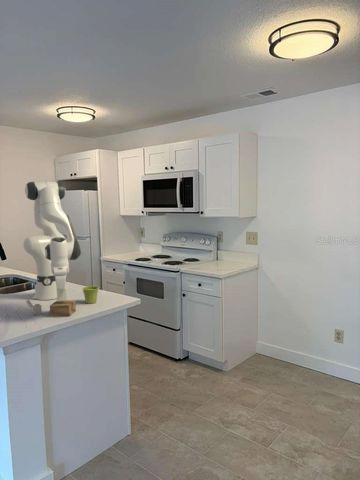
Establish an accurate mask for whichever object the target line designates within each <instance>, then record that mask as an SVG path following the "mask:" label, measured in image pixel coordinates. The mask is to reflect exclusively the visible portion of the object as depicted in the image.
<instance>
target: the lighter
mask: <svg viewBox="0 0 360 480" xmlns="http://www.w3.org/2000/svg"><path fill="white" fill-rule="evenodd" d="M25 303H26V304H27V305H28V307H29V309H31V308H32V316H35V315H42V313H43V311H42V305H41V304H40V303H35V304H34V305H33V303H32V302H31V301H30V299H27V300H26V301H25Z"/></svg>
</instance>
